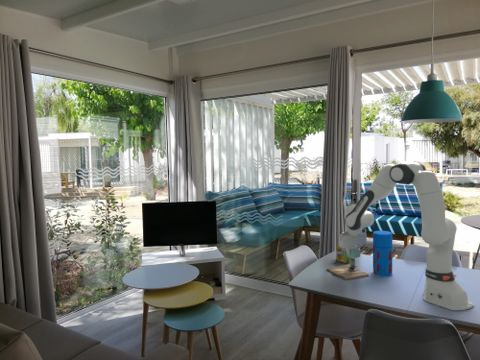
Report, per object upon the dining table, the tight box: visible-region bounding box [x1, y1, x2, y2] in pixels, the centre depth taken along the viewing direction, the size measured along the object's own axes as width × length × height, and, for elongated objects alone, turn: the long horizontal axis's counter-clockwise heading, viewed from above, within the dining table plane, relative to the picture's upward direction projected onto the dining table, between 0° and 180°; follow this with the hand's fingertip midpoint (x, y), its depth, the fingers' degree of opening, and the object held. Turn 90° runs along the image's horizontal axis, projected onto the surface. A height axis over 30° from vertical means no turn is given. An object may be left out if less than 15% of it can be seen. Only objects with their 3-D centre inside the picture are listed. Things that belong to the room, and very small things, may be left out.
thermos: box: [372, 230, 393, 278], centre depth 223 cm, size 11×11×25 cm
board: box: [326, 264, 370, 281], centre depth 227 cm, size 20×17×2 cm
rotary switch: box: [347, 246, 361, 258], centre depth 227 cm, size 6×6×6 cm
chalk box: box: [335, 243, 356, 264], centre depth 251 cm, size 9×9×15 cm
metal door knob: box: [348, 258, 358, 271], centre depth 228 cm, size 5×5×7 cm
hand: (353, 253), depth 227 cm, fingers closed on rotary switch, 6 cm apart
